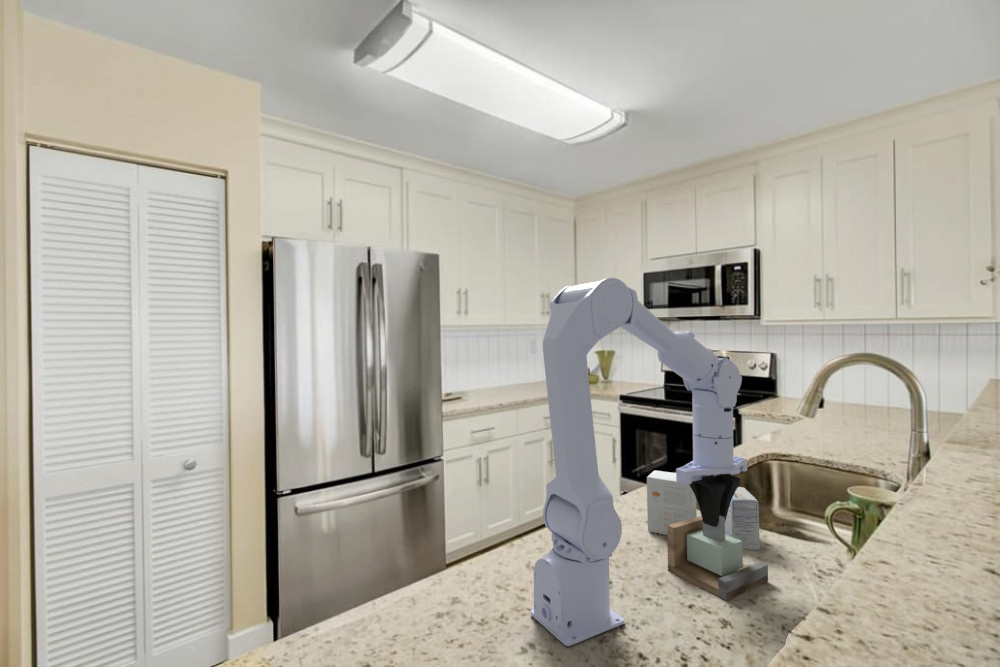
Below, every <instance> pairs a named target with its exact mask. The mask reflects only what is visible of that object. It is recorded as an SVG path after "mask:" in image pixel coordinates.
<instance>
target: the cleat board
mask: <svg viewBox="0 0 1000 667" xmlns="http://www.w3.org/2000/svg"><path fill="white" fill-rule="evenodd" d="M702 529H703V520H702V516H701V515H699V516H697V517H695V518H691V519H688V520H685V521H681V522H678V523H674V524H671V525H667V530H668V536H667V571H668V572H670V573H673V574H674V575H677V576H678V577H680V578H682V579H683V580H686V581H687V582H690V583H692V584H693V585H696V586H698V587H699V588H701V589H704V590H706V591H707V592H709V593H711V594H712V595H715V596H716V597H719V598H721V599H723V600H724V601H729V600H731V599H733V598H736V597H737V596H740V595H742V594H744V593H746V592H748V591H751V590H753V589H755V588H757V587H760V586H762V585H764V584H766V583H769V565H768V564H766V563H764V562H762V561H759V562H756V563H754V564H751V565H749V566H748V565H745V564H743V568H741V569H739V570H736V571H734V572H731V573H729V574H726V575H724V576H721V575H719V574H716V573H714V572H712V571H710V570H708V569H706V568H703V567H701V566H699V565H697V564H695V563H693V562H690V561H688V560H687V534H689V533H692V532H696V531H699V530H702Z"/></svg>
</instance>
